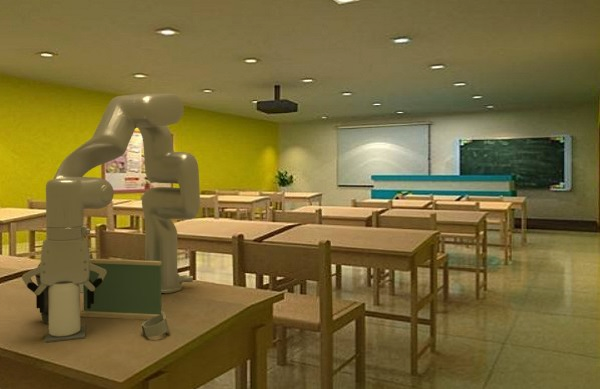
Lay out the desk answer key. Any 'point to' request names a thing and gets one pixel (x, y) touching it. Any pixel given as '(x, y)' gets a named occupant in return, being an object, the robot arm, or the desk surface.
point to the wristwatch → (155, 326)
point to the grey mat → (76, 336)
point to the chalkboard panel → (126, 290)
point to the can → (64, 309)
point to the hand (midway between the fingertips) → (66, 309)
